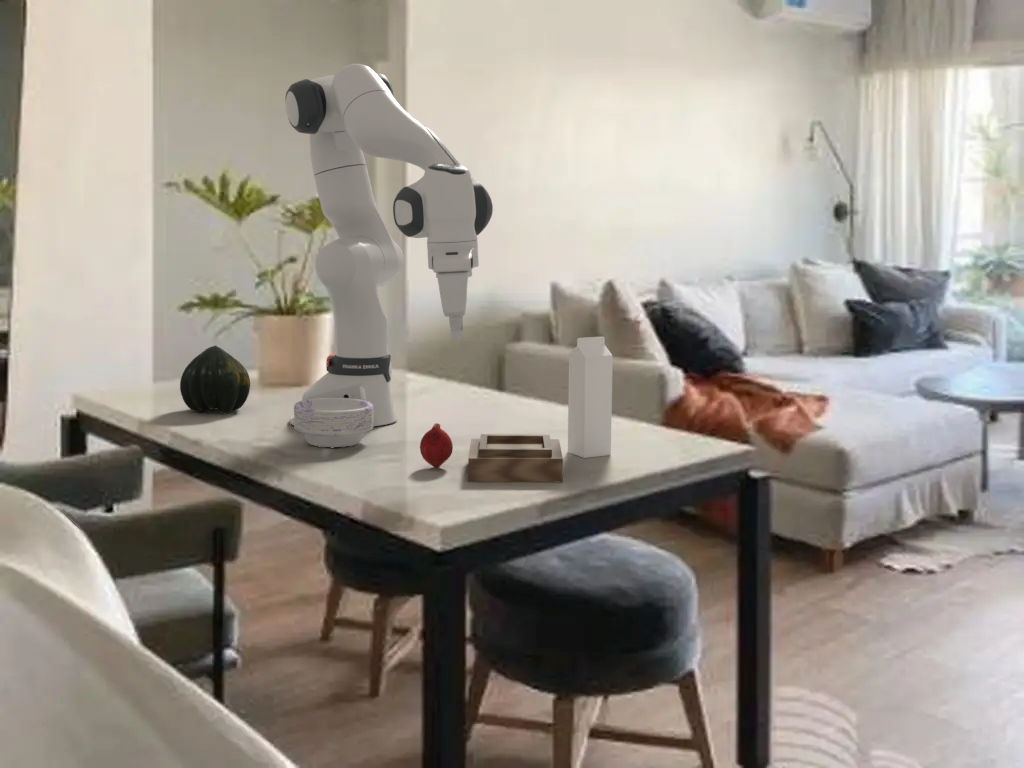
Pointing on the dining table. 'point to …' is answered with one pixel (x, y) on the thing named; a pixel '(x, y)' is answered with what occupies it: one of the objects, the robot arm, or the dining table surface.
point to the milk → (590, 398)
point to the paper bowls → (333, 420)
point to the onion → (436, 446)
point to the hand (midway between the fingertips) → (457, 335)
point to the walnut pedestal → (515, 458)
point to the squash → (214, 382)
